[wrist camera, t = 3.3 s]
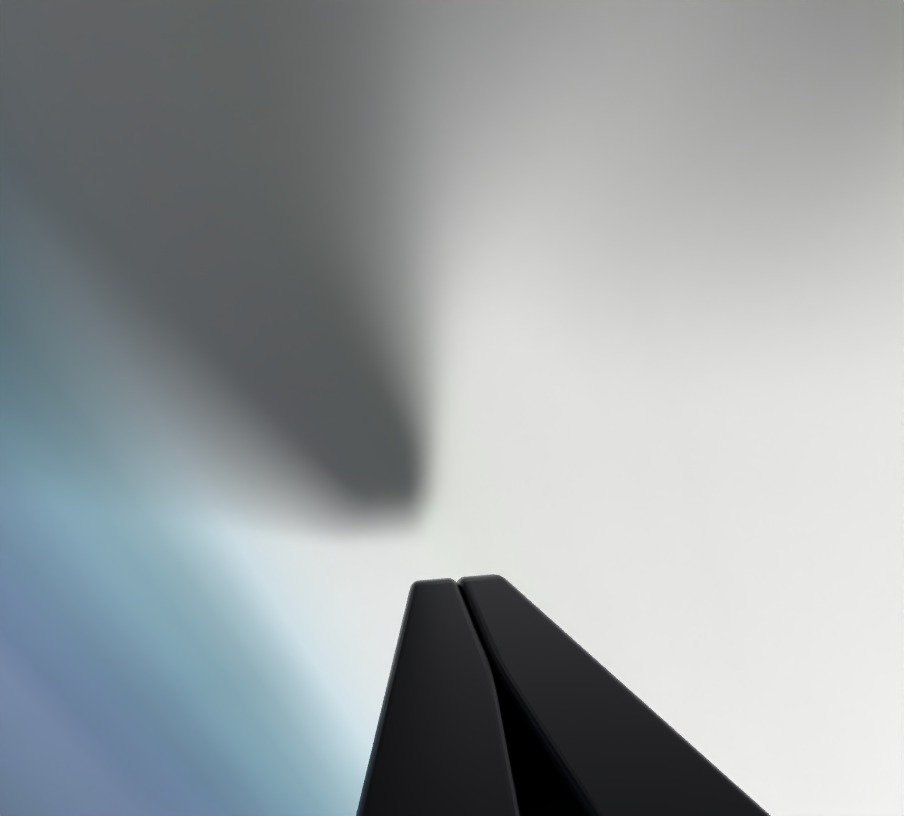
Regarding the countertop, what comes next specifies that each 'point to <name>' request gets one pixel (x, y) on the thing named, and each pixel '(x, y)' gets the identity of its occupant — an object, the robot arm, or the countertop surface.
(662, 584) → the countertop surface
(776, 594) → the countertop surface
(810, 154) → the countertop surface
